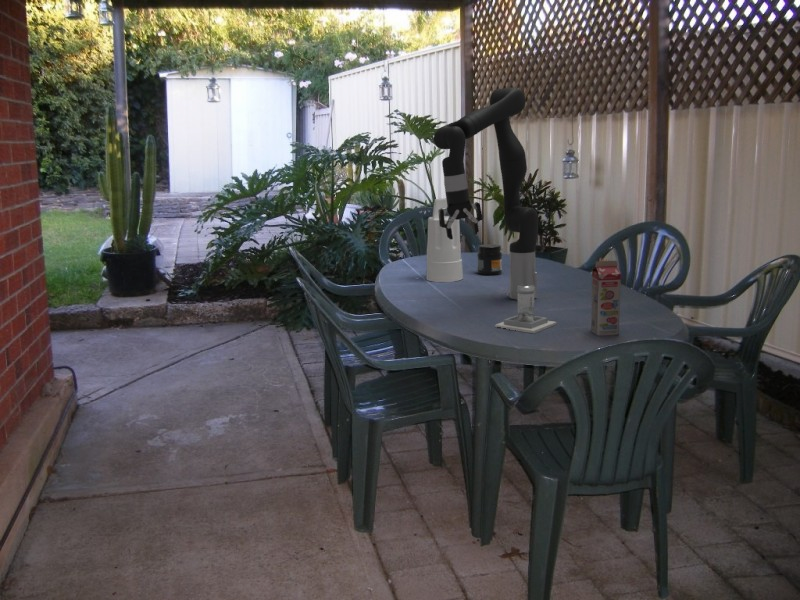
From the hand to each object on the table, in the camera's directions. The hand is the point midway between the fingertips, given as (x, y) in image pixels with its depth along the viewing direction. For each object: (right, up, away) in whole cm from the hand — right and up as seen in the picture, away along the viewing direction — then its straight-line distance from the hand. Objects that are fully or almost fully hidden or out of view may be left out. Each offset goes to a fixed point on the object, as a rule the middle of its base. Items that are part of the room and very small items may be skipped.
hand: (463, 236), depth 276 cm
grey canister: (+19, -28, -13) cm, 37 cm away
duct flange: (+19, -29, -13) cm, 37 cm away
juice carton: (+41, -31, -24) cm, 57 cm away
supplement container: (+17, -10, +79) cm, 82 cm away
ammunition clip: (+57, -18, +38) cm, 71 cm away
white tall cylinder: (-3, -12, +70) cm, 71 cm away
